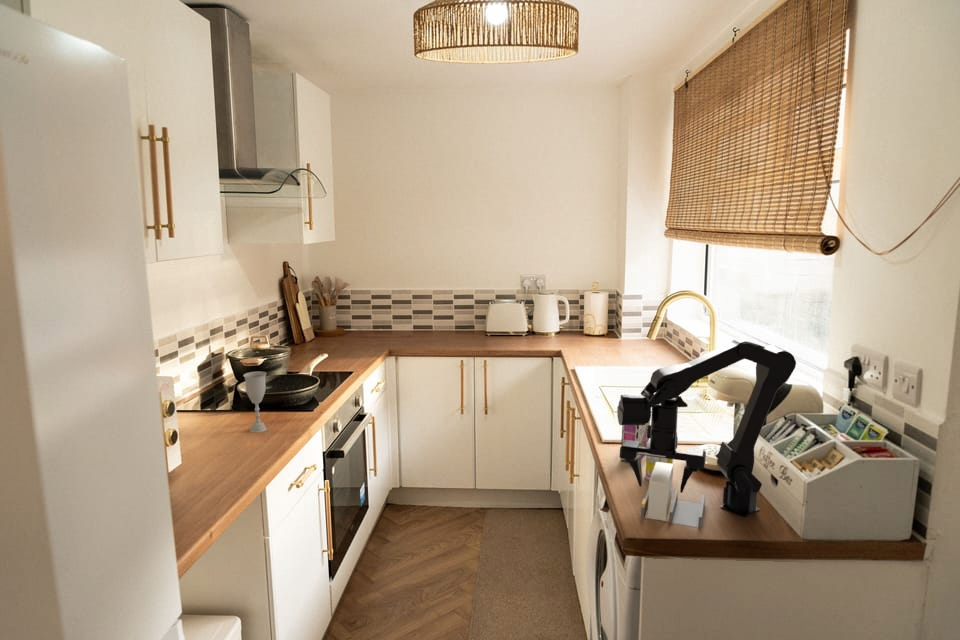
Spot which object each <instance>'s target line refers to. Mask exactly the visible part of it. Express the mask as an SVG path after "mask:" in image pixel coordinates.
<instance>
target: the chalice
mask: <svg viewBox="0 0 960 640" xmlns="http://www.w3.org/2000/svg"><path fill="white" fill-rule="evenodd" d="M267 373H268V372H266V371H259V370H258V371H250V372H246V373H244V374H243V375H242V376H243V377H244V381H245V382H244V383H245V392H246V394H247V396H248V398H249V400H250V401H251V403H252V404H254V405H255V408H254V411H255V414H254V417H255V421H254V422H253V423H252V424H251V427H250V429H249V432H250V433H253V434H254V433H257V434H258V433H264V432H265V431H267V427H266V425H265V423H264V422H263V421H261V420H260V416H261V414H260V409H261V408H260V407H259V404H261V403H262V401H263V399H264V396H265V393H266V386H267V385H266V376H267Z"/></svg>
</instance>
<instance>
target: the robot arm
mask: <svg viewBox="0 0 960 640" xmlns="http://www.w3.org/2000/svg"><path fill="white" fill-rule="evenodd" d="M743 360H748V361H751V362H752V363H756V365H755V384H754V386H753V389H752V391H751V394H750V396H749V399H748V401H747V405H746V406H745V409H744V411H743V414H742V417H741V419H740V421H739V424H738V426H737V429H736V432H735V434H734V436H733V438H732V439H731V440H730V441H729V442H728V443H727V442H725V441H721V443H720V446H719V447H720V448H719V450H718V453H716V455H715V458H717V461H716V465H717V467H718V469H719V470H720V472H722V474H723V475H724V477H725V479H727V481H725V486H723V493H722V494H723V496H722V505H720V507H719V508H720V509H721V510H724V511H726V512H729V513H732V514H735V515H737V516H740V517H742V518H747V517H749V516H751V515H753V514H755V513H758V512H759V511H760V508H759V507H758V506H757V500H758V499H757V498H758V493H759V492H760V490H761V488H762V485H763V484H762V482H761V481H760V480H759V479H758V478H757V477H756V476H755V475H754V474H753V470H754V465H755V446H756V443H757V442H758V439H759V436H760V434H761V431H762V429H763V426H764V424H765V421H766V419H767V417H768V414H769V412H770V409H771V406H772V404H773V402H774V399H775V396H776V394H777V392H778V390H779V389H780V388H781V387H782V386H783V385H785V384H786V382H788V380H789V378H790V377H791V376H792V374H793V372H794V370H795V369H796V365H797V361H796V358H795V357H794V355H793V354H792V353H791V352H790V351H787V350H785V349H783V348H781V347H779V346H777V345H772V344H771V345H767V346H763V345H760V344H758V343H754V342H751V341H748V340H746V339H745V338H741V337H738V338H735V339H733V340H732V341H731V342H728V343H726V344H725V345H722V346H720V347H718V348H715V349H714V350H712V351H709V352H707V353H705V354H703V355H700V356H698V357H696V358H694V359H692V360H690V361H687V362H685V363H679V364H670V365H668V366H663V367H661V368H660V367H659V368H657V369H656V370H655V371H654V372H652V373H651V376H650V381H649V382H648V383H647V384H646V386H645V387H644V388H643V389H642V391H641V392H640V395H638V396H636V395H628V394H621V395H620V399H619V402H618V406H617V410H616V411H617V415H616V416H617V421H618V425H619V426H622V425H646V423H649V421H650V425H648V430H647V438H649V440H650V448H649V447H641V444H640V442H639V441H631V440H625V441H624V442H623V444H622V445H621V444H620V447H619V458H620V459H621V458H622V459H625V461H624V462H625V463H627V464H628V463H629V466H630V468H631V469H632V471H633V472H634V477H635V478H636V481H637V483H638V485H639V488H640V487H642V486H643V472H642V471H643V470H642V458H641V455H644V456H645V457H646V456H652V457H660V458H668V459H673V460H675V461H676V460H677V461H683V462H685V465H684V469H683V472H682V477H681V478H682V479H681V483H680V491H679V492H680V493H683V492H684V490H685V487H686V485H687V482H688V481H689V479H690V477H691V475H692V474H693V473H697V472H699V470H704V469H705V466H706V460H707V459H706V458H707V452H706V450H705V449H703V448H694V447H688V448H687V452H685V451H681V450H680V451H678V450H677V449H678V440H679V439H678V414H679V413H678V409H679V408H687V407H688V403H687V402H685V400H683V397H682V396H681V394H683V393H684V392H686V391H688V390H689V389H690V388H691V386H692V385H693V384H694V383H696V382H698V381H699V380H701V379H704V378H705V377H707V376H710V375H713V374H715V373H716V372H718V371H720V370H723V369H726V368H727V367H730V366H732V365H734V364H735V363H738V362H740V361H743Z"/></svg>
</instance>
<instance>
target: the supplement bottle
mask: <svg viewBox="0 0 960 640" xmlns="http://www.w3.org/2000/svg"><path fill="white" fill-rule="evenodd" d="M647 447H649V448H650V439H649V440H648V442H647ZM645 459H646V460H645V478H646V479H647V480H650V477H651V475H652V472H653V469H654V466H655V464H656V462H662V463H670V464H673V465H674V463H673V461H674V459H668V458H660V457H652V456H645Z"/></svg>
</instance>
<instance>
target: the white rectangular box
mask: <svg viewBox="0 0 960 640" xmlns="http://www.w3.org/2000/svg"><path fill="white" fill-rule="evenodd" d="M673 477H674V463H673V464H670V463H662V462H656V464H655V466H654V469H653V472H652V475H651V477H650V480H649V481H648V482H649V483H648V488H649V500H648V518H650V519H656V520H662V521H666V519H667V515H668V511H669V507H670V503H671V500H673V499H672V497H673V496H672V493H673V481H674V480H673V479H674V478H673Z"/></svg>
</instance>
